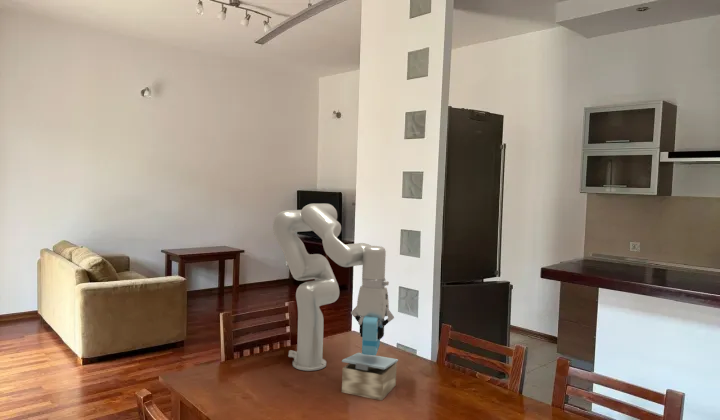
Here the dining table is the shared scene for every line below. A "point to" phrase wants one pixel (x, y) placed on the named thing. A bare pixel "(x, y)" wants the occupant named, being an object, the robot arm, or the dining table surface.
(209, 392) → the dining table surface
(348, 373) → the open box
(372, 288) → the robot arm
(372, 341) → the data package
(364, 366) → the box lid
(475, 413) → the dining table surface
